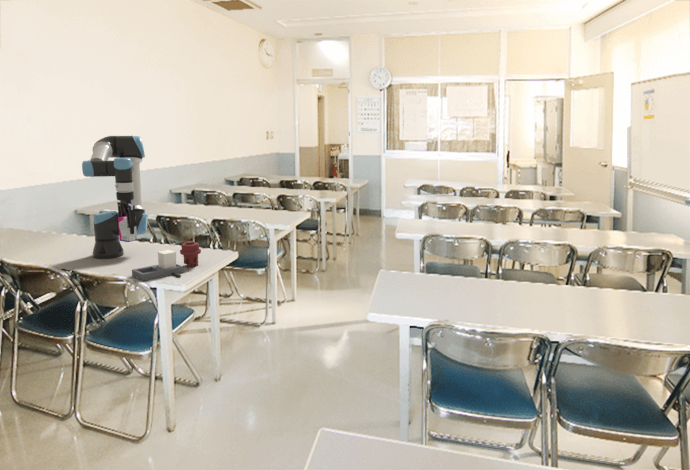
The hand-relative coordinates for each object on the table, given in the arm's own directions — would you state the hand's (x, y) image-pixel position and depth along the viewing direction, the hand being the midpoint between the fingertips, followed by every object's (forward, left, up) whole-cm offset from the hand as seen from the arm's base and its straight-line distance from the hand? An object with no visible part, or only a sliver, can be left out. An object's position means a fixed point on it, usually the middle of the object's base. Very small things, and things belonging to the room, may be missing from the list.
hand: (128, 239), depth 252 cm
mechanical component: (+11, +26, -16) cm, 32 cm away
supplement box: (0, 0, -1) cm, 1 cm away
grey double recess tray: (+18, +7, -16) cm, 25 cm away
